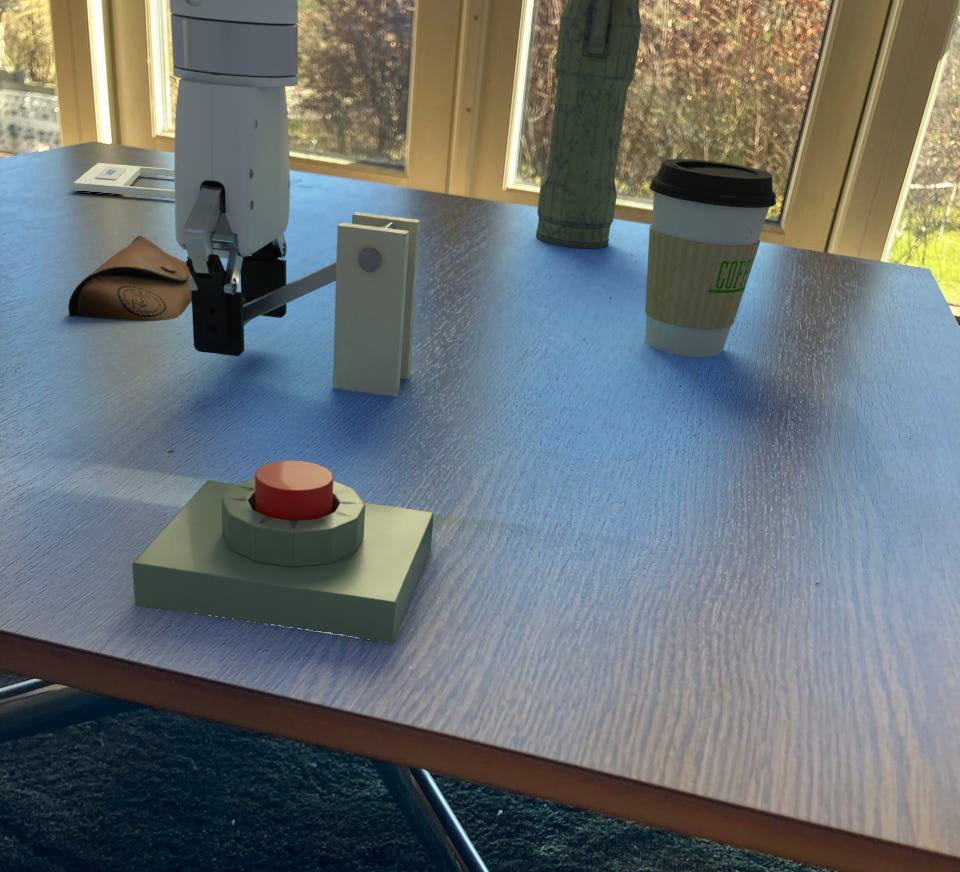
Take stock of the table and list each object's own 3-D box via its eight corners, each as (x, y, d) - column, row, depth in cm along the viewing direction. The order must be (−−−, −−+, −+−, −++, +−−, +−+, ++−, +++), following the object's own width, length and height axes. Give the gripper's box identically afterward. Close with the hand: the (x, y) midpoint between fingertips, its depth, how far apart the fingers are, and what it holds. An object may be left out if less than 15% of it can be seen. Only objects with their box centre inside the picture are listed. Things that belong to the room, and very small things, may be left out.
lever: (224, 347, 75) (206, 314, 74) (250, 326, 80) (233, 294, 79) (397, 269, 71) (380, 232, 70) (413, 251, 76) (397, 217, 75)
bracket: (285, 407, 75) (287, 223, 69) (316, 372, 82) (319, 202, 76) (432, 428, 75) (446, 244, 69) (451, 391, 82) (465, 221, 76)
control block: (134, 605, 51) (128, 526, 49) (208, 517, 60) (206, 446, 58) (393, 645, 51) (398, 566, 49) (430, 550, 59) (436, 479, 57)
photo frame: (97, 161, 141) (244, 173, 144) (98, 170, 142) (244, 183, 144) (73, 180, 129) (233, 194, 131) (74, 191, 130) (233, 204, 132)
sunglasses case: (184, 336, 85) (133, 253, 82) (105, 375, 86) (52, 296, 83) (223, 279, 100) (182, 208, 97) (156, 314, 102) (114, 245, 99)
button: (245, 519, 52) (244, 483, 51) (268, 489, 55) (268, 455, 54) (321, 530, 52) (322, 495, 51) (340, 499, 55) (341, 466, 54)
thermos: (537, 247, 128) (580, -122, 111) (532, 226, 139) (571, -115, 121) (614, 254, 129) (669, -112, 111) (603, 233, 139) (653, -105, 121)
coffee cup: (761, 379, 92) (805, 183, 84) (651, 379, 89) (687, 176, 81) (707, 343, 100) (743, 161, 92) (604, 342, 97) (633, 154, 89)
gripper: (222, 41, 77) (230, 296, 85) (118, 55, 62) (141, 362, 70) (330, 52, 76) (327, 308, 85) (252, 69, 61) (258, 377, 70)
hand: (242, 332), depth 78 cm, fingers open, 9 cm apart
